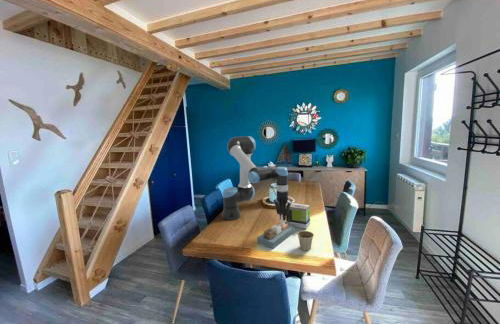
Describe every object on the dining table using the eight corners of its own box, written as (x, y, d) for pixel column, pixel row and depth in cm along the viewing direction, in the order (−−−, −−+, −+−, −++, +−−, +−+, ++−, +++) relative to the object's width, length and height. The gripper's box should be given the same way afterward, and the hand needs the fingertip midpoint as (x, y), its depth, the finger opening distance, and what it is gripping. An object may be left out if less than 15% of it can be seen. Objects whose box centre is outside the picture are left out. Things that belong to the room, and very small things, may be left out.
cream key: (271, 232, 153) (271, 226, 153) (275, 230, 157) (275, 224, 156) (277, 234, 150) (277, 228, 150) (281, 231, 154) (281, 226, 153)
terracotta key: (277, 230, 160) (277, 225, 159) (281, 228, 163) (281, 222, 163) (284, 232, 157) (284, 226, 156) (287, 230, 160) (287, 224, 160)
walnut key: (264, 237, 147) (263, 231, 146) (268, 234, 151) (268, 228, 150) (270, 239, 144) (270, 233, 143) (274, 236, 148) (274, 230, 147)
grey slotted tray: (257, 243, 148) (256, 237, 147) (279, 228, 168) (279, 223, 167) (273, 249, 140) (272, 242, 140) (294, 232, 160) (294, 227, 160)
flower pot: (312, 253, 134) (312, 239, 133) (296, 250, 138) (295, 236, 136) (314, 245, 143) (314, 232, 141) (298, 243, 146) (298, 229, 145)
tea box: (310, 224, 173) (310, 204, 171) (306, 229, 165) (306, 209, 162) (290, 220, 181) (290, 202, 179) (285, 225, 172) (285, 206, 170)
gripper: (270, 190, 157) (271, 224, 160) (287, 193, 149) (288, 228, 152) (276, 187, 163) (277, 220, 166) (293, 190, 154) (294, 224, 158)
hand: (282, 224), depth 159 cm, fingers closed
